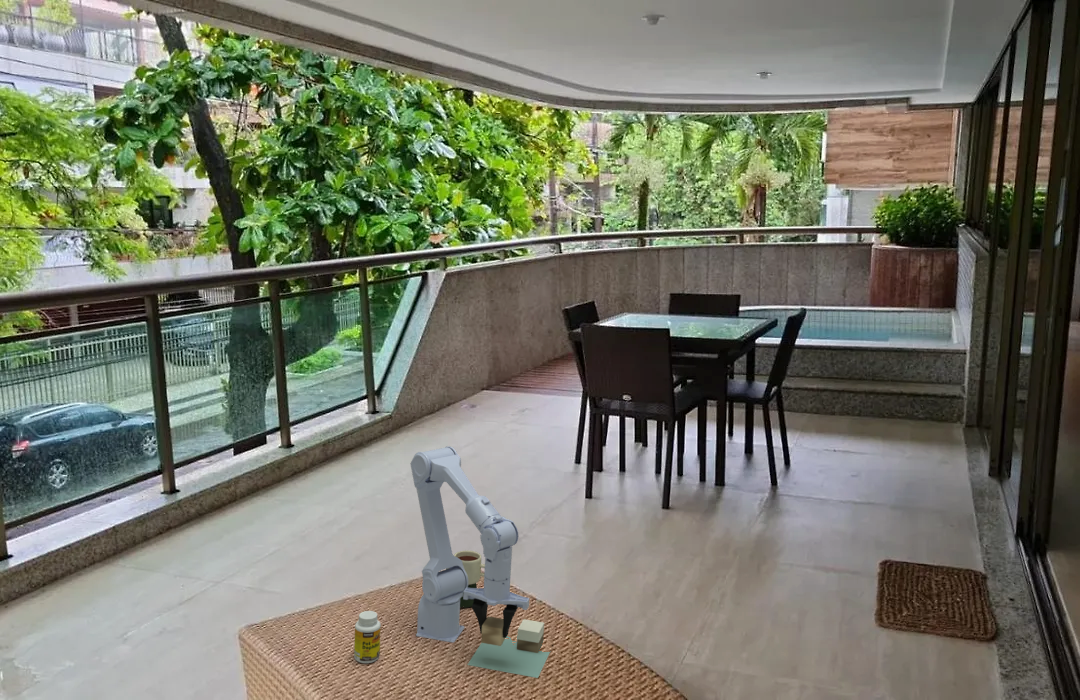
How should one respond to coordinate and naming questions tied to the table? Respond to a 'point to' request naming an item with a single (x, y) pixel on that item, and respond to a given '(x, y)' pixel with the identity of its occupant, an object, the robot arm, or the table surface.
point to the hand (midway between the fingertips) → (494, 633)
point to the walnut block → (529, 645)
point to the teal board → (509, 659)
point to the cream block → (530, 631)
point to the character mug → (470, 571)
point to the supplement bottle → (367, 637)
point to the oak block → (492, 631)
